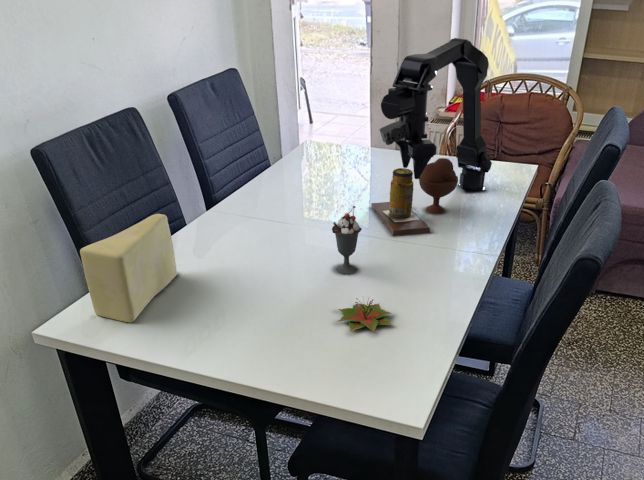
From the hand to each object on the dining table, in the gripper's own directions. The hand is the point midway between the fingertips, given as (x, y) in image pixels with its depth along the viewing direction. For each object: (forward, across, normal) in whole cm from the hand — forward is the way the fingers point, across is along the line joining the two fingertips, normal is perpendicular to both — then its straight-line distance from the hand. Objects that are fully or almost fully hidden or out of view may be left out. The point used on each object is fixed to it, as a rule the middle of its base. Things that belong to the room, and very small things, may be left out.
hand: (410, 173), depth 170 cm
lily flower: (+12, +49, -26) cm, 57 cm away
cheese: (+12, +29, -69) cm, 76 cm away
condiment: (+11, +1, -2) cm, 12 cm away
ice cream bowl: (+13, -4, +10) cm, 17 cm away
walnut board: (+13, 0, -3) cm, 13 cm away
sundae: (+13, +26, -24) cm, 38 cm away
